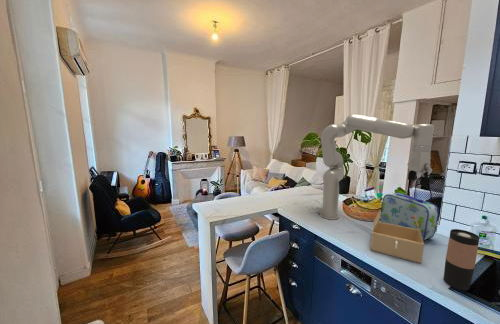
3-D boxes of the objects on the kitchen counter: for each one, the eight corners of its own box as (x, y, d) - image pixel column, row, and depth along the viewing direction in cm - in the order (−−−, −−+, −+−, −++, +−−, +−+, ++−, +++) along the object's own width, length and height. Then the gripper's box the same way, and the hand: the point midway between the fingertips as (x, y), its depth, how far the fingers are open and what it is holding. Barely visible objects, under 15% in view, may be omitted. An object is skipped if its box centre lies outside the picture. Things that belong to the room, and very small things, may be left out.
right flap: (417, 225, 92) (419, 225, 92) (414, 215, 103) (415, 215, 103) (421, 241, 92) (423, 241, 92) (418, 229, 103) (419, 229, 103)
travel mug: (438, 274, 85) (445, 227, 82) (462, 278, 83) (470, 230, 80) (449, 288, 78) (458, 237, 75) (476, 293, 76) (486, 240, 73)
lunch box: (438, 241, 111) (444, 202, 107) (424, 245, 107) (430, 205, 104) (390, 221, 135) (393, 188, 131) (377, 223, 131) (381, 190, 128)
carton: (370, 252, 100) (371, 234, 99) (372, 236, 116) (373, 220, 114) (422, 266, 90) (425, 247, 89) (416, 246, 106) (419, 229, 104)
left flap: (373, 231, 102) (372, 230, 102) (375, 221, 113) (373, 220, 113) (380, 218, 99) (379, 218, 100) (381, 209, 110) (379, 209, 111)
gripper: (403, 147, 116) (399, 178, 119) (424, 150, 100) (420, 186, 102) (418, 147, 116) (414, 178, 118) (442, 150, 99) (437, 186, 101)
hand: (416, 182), depth 110 cm, fingers open, 9 cm apart
